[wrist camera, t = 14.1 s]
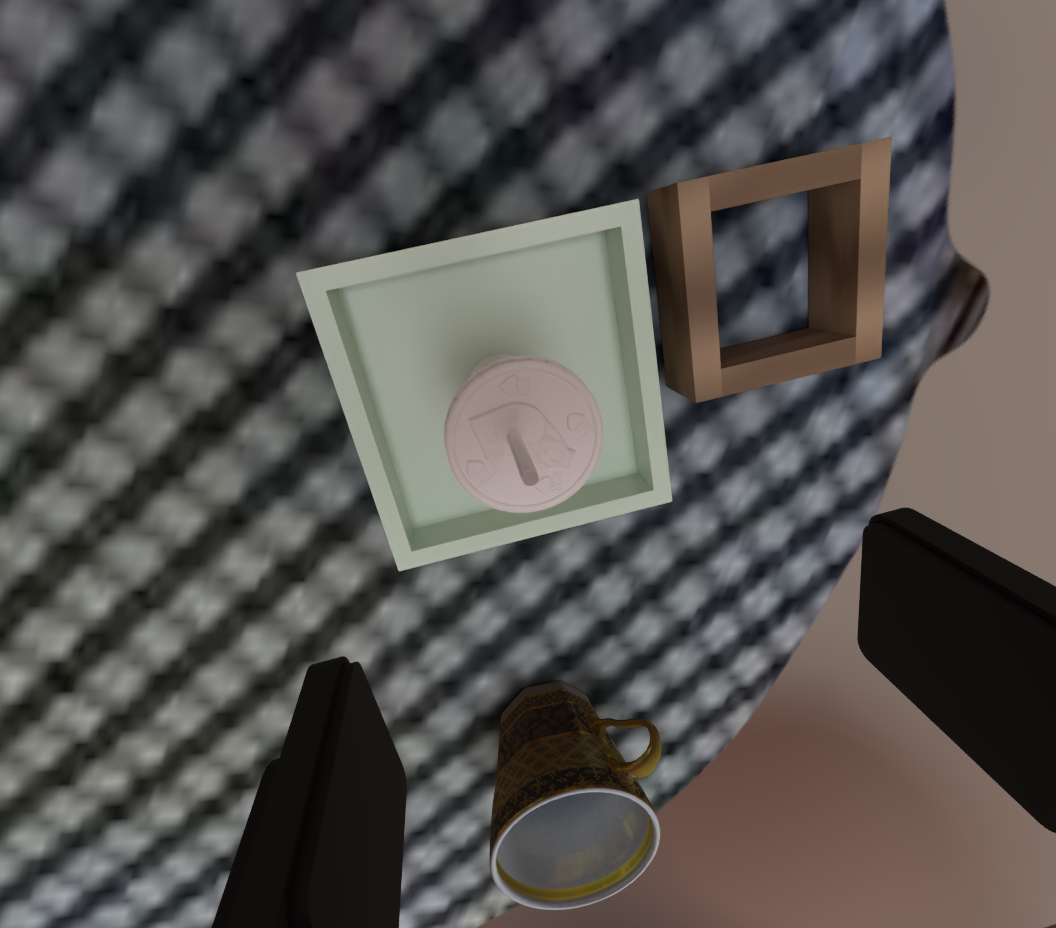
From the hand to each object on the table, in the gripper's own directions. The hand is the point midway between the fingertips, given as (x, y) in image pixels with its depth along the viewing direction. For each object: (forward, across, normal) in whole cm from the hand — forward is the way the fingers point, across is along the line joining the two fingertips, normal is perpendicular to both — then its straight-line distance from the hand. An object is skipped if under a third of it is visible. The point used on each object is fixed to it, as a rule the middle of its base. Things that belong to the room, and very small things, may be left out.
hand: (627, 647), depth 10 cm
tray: (+23, 0, +1) cm, 23 cm away
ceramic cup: (+23, +1, +24) cm, 33 cm away
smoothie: (+22, 0, 0) cm, 22 cm away
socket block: (+23, -15, -2) cm, 27 cm away
